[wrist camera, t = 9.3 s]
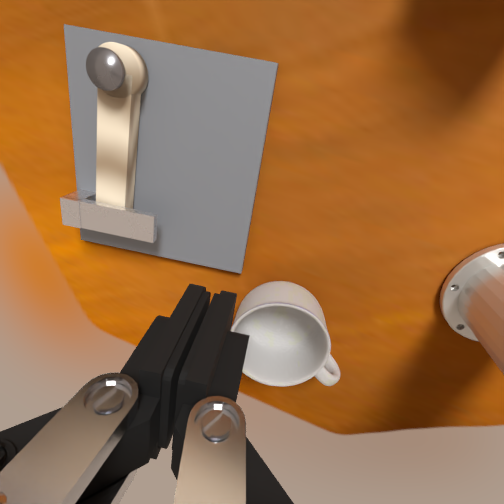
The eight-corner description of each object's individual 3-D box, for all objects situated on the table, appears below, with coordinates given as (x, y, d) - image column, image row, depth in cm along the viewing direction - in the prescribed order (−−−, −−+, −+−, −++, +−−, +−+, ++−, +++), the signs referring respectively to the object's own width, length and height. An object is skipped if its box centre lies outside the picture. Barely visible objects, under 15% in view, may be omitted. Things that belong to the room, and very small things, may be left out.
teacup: (222, 298, 42) (207, 340, 34) (288, 251, 37) (286, 288, 30) (291, 366, 45) (289, 416, 38) (357, 329, 41) (370, 378, 34)
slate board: (278, 64, 29) (277, 63, 29) (242, 269, 39) (241, 273, 38) (70, 26, 30) (63, 24, 29) (85, 236, 40) (81, 239, 39)
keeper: (169, 203, 37) (153, 217, 33) (168, 227, 38) (152, 243, 34) (86, 186, 37) (60, 197, 33) (88, 210, 39) (62, 224, 34)
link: (104, 39, 29) (78, 32, 26) (150, 52, 29) (130, 45, 26) (100, 220, 38) (80, 232, 34) (136, 230, 37) (120, 243, 34)
